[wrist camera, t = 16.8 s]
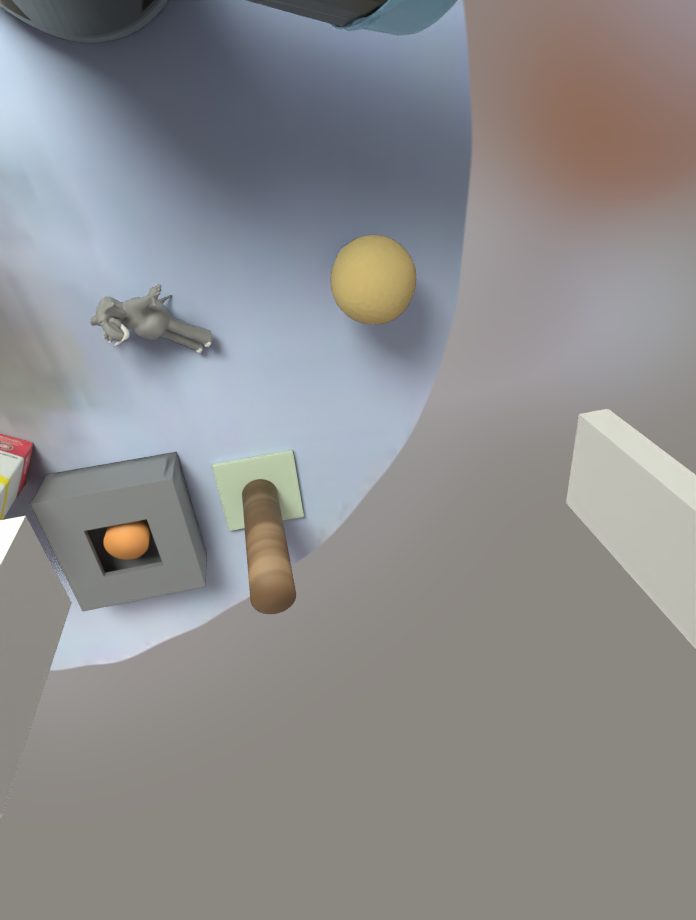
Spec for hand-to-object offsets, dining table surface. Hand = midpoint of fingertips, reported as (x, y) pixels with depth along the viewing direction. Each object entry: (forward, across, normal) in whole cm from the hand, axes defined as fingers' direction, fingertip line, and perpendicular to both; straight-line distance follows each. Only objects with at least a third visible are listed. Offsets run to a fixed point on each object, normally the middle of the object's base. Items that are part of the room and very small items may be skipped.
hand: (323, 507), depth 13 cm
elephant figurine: (+38, -9, -4) cm, 39 cm away
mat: (+37, -4, -24) cm, 44 cm away
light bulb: (+38, +8, -3) cm, 39 cm away
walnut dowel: (+36, -4, -24) cm, 44 cm away
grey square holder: (+37, -17, -24) cm, 47 cm away
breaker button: (+36, -17, -25) cm, 47 cm away
